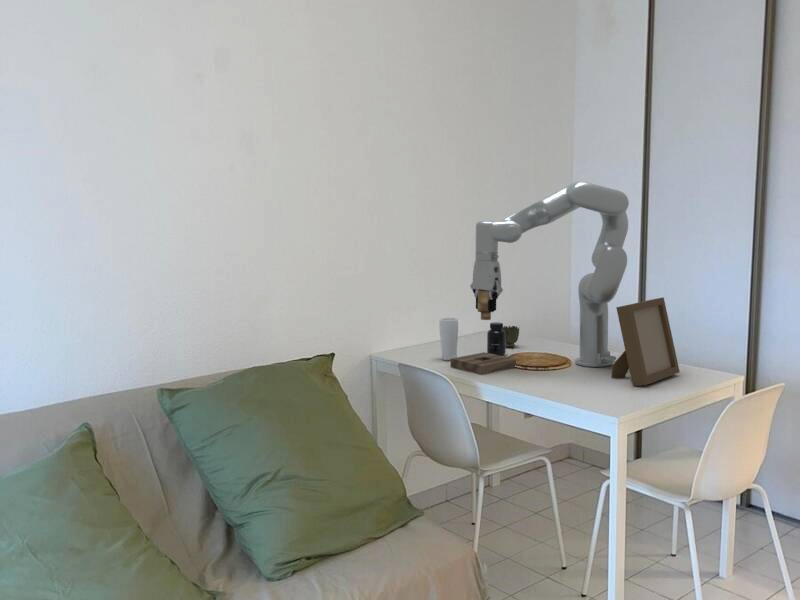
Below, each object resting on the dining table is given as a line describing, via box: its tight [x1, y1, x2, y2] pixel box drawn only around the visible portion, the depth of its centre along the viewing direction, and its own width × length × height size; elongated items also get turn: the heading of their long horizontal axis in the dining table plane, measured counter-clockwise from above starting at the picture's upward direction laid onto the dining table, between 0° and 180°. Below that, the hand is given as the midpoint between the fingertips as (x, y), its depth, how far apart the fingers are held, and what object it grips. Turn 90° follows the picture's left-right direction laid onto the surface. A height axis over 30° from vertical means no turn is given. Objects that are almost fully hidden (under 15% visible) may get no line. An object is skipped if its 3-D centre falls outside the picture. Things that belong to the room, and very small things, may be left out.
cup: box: [502, 325, 520, 349], centre depth 298 cm, size 8×7×8 cm
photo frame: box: [611, 297, 681, 387], centre depth 241 cm, size 15×22×25 cm
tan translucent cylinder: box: [477, 290, 495, 321], centre depth 261 cm, size 6×6×10 cm
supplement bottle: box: [486, 321, 507, 357], centre depth 283 cm, size 7×7×12 cm
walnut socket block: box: [449, 351, 517, 376], centre depth 264 cm, size 16×16×3 cm
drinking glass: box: [439, 317, 459, 361], centre depth 277 cm, size 7×7×15 cm
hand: (485, 309), depth 262 cm, fingers closed on tan translucent cylinder, 5 cm apart
